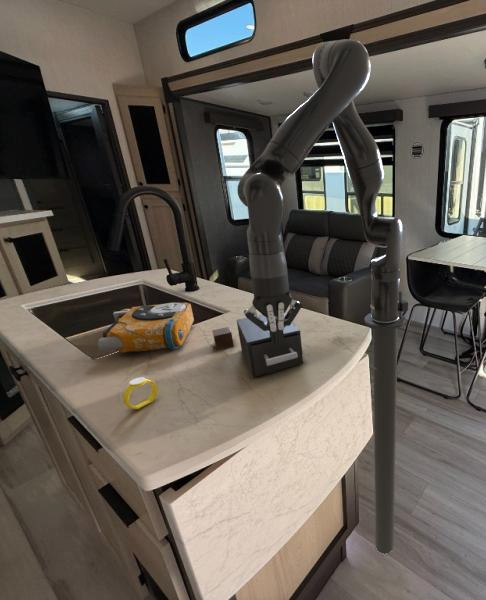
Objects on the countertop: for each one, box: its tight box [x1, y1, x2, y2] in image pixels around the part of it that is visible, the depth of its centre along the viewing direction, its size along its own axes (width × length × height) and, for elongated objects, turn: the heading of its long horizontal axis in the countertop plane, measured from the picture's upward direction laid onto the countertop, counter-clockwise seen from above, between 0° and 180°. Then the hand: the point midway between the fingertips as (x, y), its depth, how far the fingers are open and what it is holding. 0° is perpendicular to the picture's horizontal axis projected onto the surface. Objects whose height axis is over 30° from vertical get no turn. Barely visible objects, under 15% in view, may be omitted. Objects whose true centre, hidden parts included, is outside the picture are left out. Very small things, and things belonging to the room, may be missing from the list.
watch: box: [122, 376, 159, 410], centre depth 67 cm, size 6×3×6 cm, turn 158°
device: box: [97, 302, 195, 353], centre depth 96 cm, size 23×8×30 cm
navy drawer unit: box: [236, 312, 304, 378], centre depth 85 cm, size 16×13×10 cm
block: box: [211, 326, 235, 351], centre depth 92 cm, size 4×4×4 cm
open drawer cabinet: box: [251, 334, 303, 377], centre depth 82 cm, size 19×11×8 cm, turn 32°
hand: (278, 343), depth 75 cm, fingers closed
